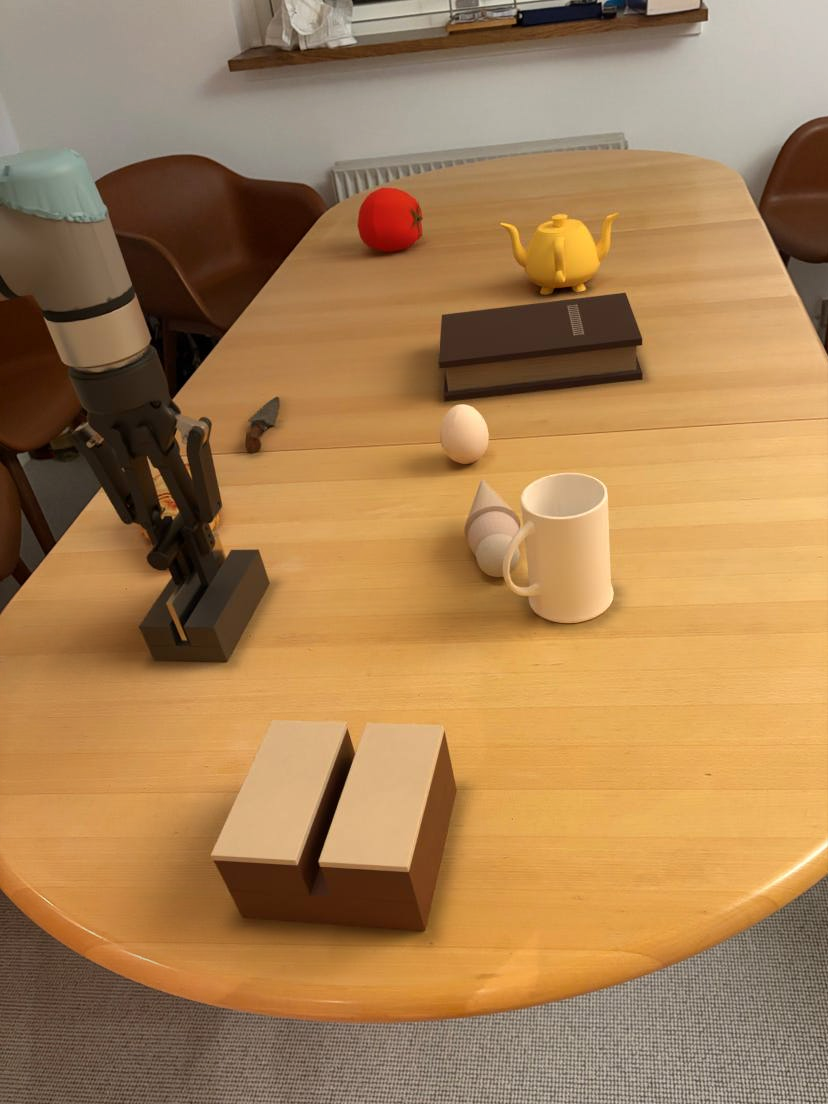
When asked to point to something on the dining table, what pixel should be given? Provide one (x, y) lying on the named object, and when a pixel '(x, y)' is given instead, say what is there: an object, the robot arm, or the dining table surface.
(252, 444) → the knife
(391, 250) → the tomato
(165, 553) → the ulu knife
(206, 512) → the robot arm
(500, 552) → the ice cream cone
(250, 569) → the slotted block
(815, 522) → the dining table surface
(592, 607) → the mug
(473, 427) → the egg
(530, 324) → the book
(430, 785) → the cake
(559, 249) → the teapot
